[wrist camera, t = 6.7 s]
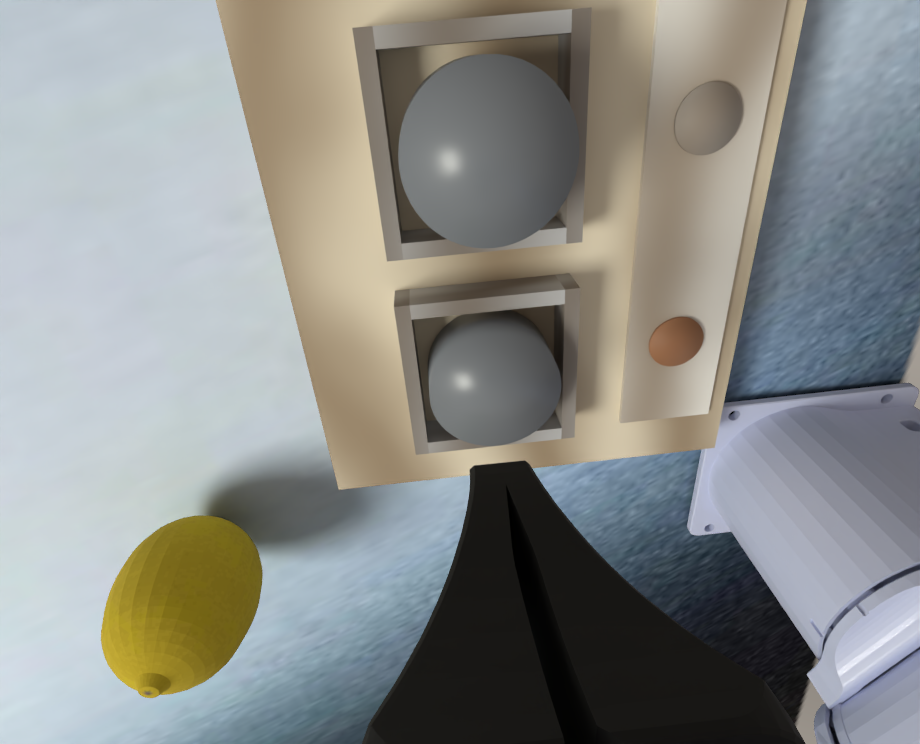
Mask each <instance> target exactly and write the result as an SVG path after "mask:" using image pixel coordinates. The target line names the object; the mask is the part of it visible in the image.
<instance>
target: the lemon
mask: <svg viewBox="0 0 920 744" xmlns="http://www.w3.org/2000/svg"><path fill="white" fill-rule="evenodd" d="M261 586H262V566H261V561H260V557H259V553H258V550H257V548H256V546H255V544H254V543H253V541H252V540H251V538H250V537H249V535H248V534H247V533H246V532H244V531H243V530H242V529H241V528H240V527H239V526H237V525H235V524H234V523H232V522H230V521H228V520H225V519H223V518H220V517H214V516H192V517H186V518H182V519H179V520H176V521H174V522H171V523H169V524H167V525H165V526H163V527H161V528H159V529H158V530H157V531H155V532H154V533H153V534H152V535H150V536H149V537H148V538H146V539H145V540H144V541H143V542H142V543H141V544H140V545H139V546H138V547H137V548H136V549H135V550H134V551H133V553H132V554H131V555H130V557H129V558H128V560H127V561H126V563H125V564H124V566H123V568H122V569H121V571H120V572H119V574H118V576H117V578H116V580H115V582H114V584H113V586H112V588H111V591H110V593H109V597H108V600H107V603H106V607H105V611H104V618H103V624H102V630H101V643H102V649H103V652H104V656H105V659H106V661H107V663H108V665H109V667H110V668H111V669H112V671H113V672H114V673H115V675H116V676H117V677H118V678H119V679H120V680H121V681H122V682H124V683H125V684H126V685H127V686H129V687H131V688H133V689H135V690H137V691H138V693H139V694H140V695H141V696H143V697H146V698H154V697H157V696H158V695H165V694H173V693H177V692H181V691H184V690H188V689H190V688H192V687H194V686H197V685H199V684H201V683H203V682H205V681H206V680H208V679H209V678H211V677H212V676H213V675H214V674H216V673H217V672H218V671H219V670H220V669H221V668H222V667H223V666H225V665H226V664H227V662H228V661H229V660H230V659H231V658H232V656H233V655H234V653H235V652H236V650H237V649H238V647H239V645H240V644H241V642H242V640H243V639H244V637H245V635H246V633H247V632H248V630H249V628H250V626H251V624H252V621H253V619H254V617H255V614H256V611H257V608H258V604H259V599H260V593H261Z"/></svg>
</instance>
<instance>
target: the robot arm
mask: <svg viewBox="0 0 920 744" xmlns="http://www.w3.org/2000/svg"><path fill="white" fill-rule="evenodd" d="M918 394H919V390H918V388H917V387H915V386H913V385H912V384H910V383H901V384H892V385H883V386H874V387H865V388H856V389H847V390H837V391H828V392H819V393H810V394H801V395H792V396H783V397H773V398H764V399H755V400H746V401H737V402H728V403H724V405H723V410H722V415H721V419H720V424H719V429H718V434H717V439H716V444H715V448H708V449H702V450H701V455H700V460H699V466H698V471H697V476H696V481H695V486H694V492H693V497H692V502H691V507H690V513H689V518H688V523H687V528H688V530H689V531H690V533H691V534H693V535H706V534H714V533H723V532H732V533H733V535H734V536H735V538H736V539H737V541H738V542H739V544H740V545H741V547H742V548H743V550H744V551H745V552H746V554H747V555H748V557H749V558H750V560H751V561H752V563H753V564H754V566H755V567H756V569H757V570H758V572H759V573H760V575H761V576H762V578H763V579H764V580H765V582H766V583H767V585H768V586H769V588H770V589H771V591H772V592H773V594H774V595H775V597H776V598H777V600H778V601H779V603H780V604H781V606H782V607H783V608H784V610H785V611H786V613H787V614H788V616H789V617H790V619H791V620H792V622H793V623H794V625H795V626H796V628H797V629H798V631H799V632H800V634H801V635H802V636H803V638H804V639H805V641H806V642H807V644H808V645H809V647H810V648H811V650H812V651H813V653H814V654H815V656H816V657H817V659H818V660H819V662H818V663H817V665H816V666H815V667H814V668H813V669H812V670H810V671H809V672H808V674H807V676H808V677H809V679H810V681H811V682H812V684H813V685H814V687H815V688H816V690H817V691H818V693H819V694H820V696H821V698H822V699H823V701H824V702H825V704H823V705H822V706H821V707H820V708H819V709H818V711H817V712H816V716H815V720H814V730H815V736H816V740H817V744H920V410H919V409H917V408H916V407H914V404H915V402H916V399H917V397H918ZM883 396H884V397H883ZM733 411H735V412H734V413H733V414H732V415H729V414H730V413H731V412H733ZM362 744H805V742H804V740H803V739H802V737H801V735H800V733H799V732H798V730H797V728H796V726H795V725H794V723H793V721H792V719H791V718H790V716H789V715H788V713H787V712H786V711H785V709H784V708H783V706H782V705H781V703H780V702H779V701H778V699H777V698H776V696H775V695H774V694H773V692H772V691H771V690H770V688H769V687H768V685H767V684H766V683H765V681H764V680H762V679H761V678H759V677H758V676H756V675H754V674H753V673H751V672H750V671H748V670H746V669H745V668H743V667H741V666H740V665H738V664H737V663H735V662H733V661H732V660H730V659H729V658H727V657H725V656H724V655H722V654H721V653H719V652H717V651H716V650H714V649H713V648H711V647H710V646H708V645H707V644H706V643H704V642H703V641H701V640H700V639H698V638H697V637H696V636H694V635H693V634H691V633H690V632H689V631H687V630H686V629H685V628H683V627H682V626H681V625H679V624H678V623H677V622H676V621H674V620H673V619H672V618H670V617H669V616H668V615H667V614H665V613H664V612H663V611H662V610H660V609H659V608H658V607H656V606H655V605H654V604H653V603H651V602H650V601H649V600H648V599H646V598H645V597H644V596H643V595H642V594H641V593H640V592H638V591H637V590H636V589H635V588H634V587H633V586H632V585H631V584H629V583H628V582H627V581H626V580H625V579H624V578H623V577H622V576H621V575H620V574H619V573H618V572H617V571H615V570H614V569H613V568H612V567H611V566H610V565H609V564H608V563H607V562H606V561H605V560H604V559H603V558H602V557H601V556H600V555H599V553H598V552H597V551H596V550H595V549H594V548H593V547H592V546H591V545H590V544H589V543H588V542H587V540H586V539H585V538H584V537H583V536H582V535H581V534H580V533H579V531H578V530H577V529H576V528H575V527H574V526H573V524H572V523H571V522H570V521H569V519H568V518H567V517H566V516H565V514H564V513H563V512H562V511H561V509H560V508H559V507H558V506H557V504H556V503H555V502H554V500H553V499H552V498H551V496H550V495H549V493H548V492H547V491H546V489H545V488H544V486H543V485H542V483H541V482H540V480H539V479H538V477H537V476H536V474H535V472H534V471H533V469H532V467H531V466H530V464H529V463H528V462H526V461H525V460H524V461H514V462H504V463H494V464H484V465H474V466H473V467H472V468H471V469H470V492H469V500H468V506H467V511H466V516H465V520H464V524H463V529H462V533H461V537H460V540H459V543H458V547H457V550H456V553H455V556H454V560H453V563H452V566H451V569H450V571H449V574H448V577H447V580H446V582H445V585H444V587H443V590H442V592H441V595H440V597H439V599H438V602H437V604H436V606H435V608H434V611H433V613H432V615H431V617H430V619H429V622H428V624H427V626H426V628H425V630H424V632H423V634H422V636H421V638H420V640H419V642H418V643H417V645H416V647H415V649H414V651H413V652H412V654H411V656H410V658H409V660H408V661H407V663H406V665H405V667H404V669H403V670H402V672H401V674H400V676H399V677H398V679H397V681H396V682H395V684H394V686H393V687H392V689H391V690H390V692H389V693H388V695H387V696H386V698H385V699H384V701H383V703H382V704H381V706H380V707H379V709H378V710H377V712H376V713H375V715H374V716H373V718H372V719H371V721H370V723H369V725H368V728H367V731H366V734H365V737H364V740H363V743H362Z"/></svg>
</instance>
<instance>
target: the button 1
mask: <svg viewBox="0 0 920 744" xmlns="http://www.w3.org/2000/svg"><path fill="white" fill-rule="evenodd" d="M428 380H429V397H430V404H431V408H432V411H433V414H434V416H435V417H436V419H437V421H438V422H439V423H440V425H441V426H442V427H443V428H444V429H445V430H446V431H447V432H449V433H450V434H451V435H453V436H454V437H456V438H458V439H460V440H462V441H465V442H467V443H471V444H475V445H481V446H499V445H505V444H509V443H513V442H516V441H518V440H521V439H523V438H525V437H527V436H529V435H531V434H532V433H534V432H535V431H537V430H538V429H539V428H540V427H541V426H543V425H544V424H545V422H546V421H547V420H548V419H549V418H550V416H551V415H552V414H553V412H554V410H555V408H556V406H557V404H558V401H559V398H560V394H561V376H560V372H559V369H558V366H557V364H556V362H555V360H554V358H553V356H552V353H551V351H550V349H549V347H548V345H547V343H546V341H545V339H544V337H543V335H542V333H541V332H540V330H539V329H538V328H537V326H536V325H535V324H534V323H533V322H531V321H530V320H529V319H528V318H526V317H525V316H523V315H521V314H519V313H517V312H514V311H511V310H502V311H492V312H482V313H473V314H463V315H460V316H458V317H457V318H455V319H453V320H452V321H451V322H449V323H448V324H447V325H446V326H445V327H444V328H443V329H442V330H441V331H440V332H439V334H438V335H437V336H436V338H435V340H434V341H433V343H432V346H431V348H430V351H429V355H428Z"/></svg>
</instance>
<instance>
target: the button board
mask: <svg viewBox="0 0 920 744" xmlns="http://www.w3.org/2000/svg"><path fill="white" fill-rule="evenodd" d="M216 3H217V7H218V11H219V15H220V19H221V23H222V27H223V31H224V35H225V39H226V43H227V47H228V51H229V55H230V59H231V63H232V67H233V71H234V75H235V79H236V83H237V87H238V91H239V95H240V99H241V103H242V107H243V111H244V115H245V119H246V123H247V127H248V131H249V135H250V139H251V143H252V147H253V151H254V155H255V159H256V162H257V166H258V170H259V174H260V178H261V182H262V186H263V190H264V194H265V198H266V202H267V206H268V210H269V214H270V218H271V222H272V226H273V230H274V234H275V238H276V242H277V246H278V250H279V254H280V258H281V262H282V266H283V270H284V274H285V278H286V282H287V286H288V290H289V294H290V298H291V302H292V306H293V310H294V314H295V318H296V322H297V325H298V329H299V333H300V337H301V341H302V345H303V349H304V353H305V357H306V361H307V365H308V369H309V373H310V377H311V381H312V385H313V389H314V393H315V397H316V401H317V405H318V409H319V413H320V417H321V421H322V425H323V429H324V433H325V437H326V441H327V445H328V449H329V453H330V457H331V461H332V465H333V469H334V473H335V477H336V481H337V485H338V489H339V490H342V489H351V488H360V487H369V486H378V485H386V484H395V483H404V482H413V481H422V480H431V479H440V478H449V477H458V476H467V475H470V469H471V468H472V467H473V466H474V465H484V464H494V463H504V462H514V461H524V460H525V461H526V462H528V463H529V464H530V466H531V467H532V468H538V467H547V466H556V465H565V464H574V463H583V462H592V461H601V460H610V459H619V458H628V457H637V456H646V455H655V454H664V453H673V452H681V451H690V450H699V449H708V448H715V444H716V439H717V434H718V429H719V424H720V419H721V415H722V410H723V405H724V400H725V395H726V390H727V386H728V381H729V376H730V371H731V366H732V361H733V356H734V352H735V347H736V342H737V337H738V332H739V327H740V323H741V318H742V313H743V308H744V303H745V298H746V294H747V289H748V284H749V279H750V274H751V269H752V265H753V260H754V255H755V250H756V245H757V240H758V235H759V231H760V226H761V221H762V216H763V211H764V206H765V202H766V197H767V192H768V187H769V182H770V177H771V173H772V168H773V163H774V158H775V153H776V148H777V143H778V139H779V134H780V129H781V124H782V119H783V114H784V110H785V105H786V100H787V95H788V90H789V85H790V81H791V76H792V71H793V66H794V61H795V56H796V51H797V47H798V42H799V37H800V32H801V27H802V22H803V18H804V13H805V8H806V3H807V0H216ZM479 54H501V55H508V56H513V57H516V58H519V59H523V60H525V61H527V62H529V63H531V64H533V65H535V66H536V67H538V68H539V69H541V70H542V71H544V72H545V73H546V74H547V75H548V76H549V77H550V78H552V79H553V80H554V81H555V83H556V84H557V85H558V86H559V88H560V89H561V90H562V91H563V93H564V95H565V96H566V98H567V100H568V101H569V103H570V106H571V108H572V110H573V113H574V116H575V119H576V123H577V127H578V134H579V150H580V151H579V162H578V167H577V172H576V176H575V179H574V182H573V185H572V188H571V190H570V192H569V194H568V196H567V198H566V200H565V201H564V203H563V205H562V206H561V208H560V209H559V210H558V212H557V213H556V214H555V215H554V217H553V218H552V219H551V220H550V221H549V222H548V223H547V224H546V225H545V226H544V227H542V228H541V229H540V230H538V231H537V232H536V233H534V234H532V235H531V236H529V237H527V238H526V239H524V240H521V241H519V242H517V243H514V244H511V245H507V246H504V247H498V248H472V247H468V246H463V245H460V244H457V243H455V242H452V241H450V240H448V239H446V238H444V237H442V236H441V235H439V234H438V233H436V232H435V231H434V230H432V229H431V228H430V227H429V226H428V225H427V224H426V223H425V222H424V221H423V220H422V219H421V218H420V216H419V215H418V214H417V213H416V211H415V210H414V208H413V207H412V205H411V203H410V201H409V199H408V197H407V195H406V193H405V190H404V187H403V184H402V181H401V176H400V171H399V160H398V150H399V138H400V131H401V125H402V120H403V117H404V114H405V111H406V108H407V106H408V104H409V102H410V100H411V98H412V96H413V95H414V93H415V92H416V90H417V88H418V87H419V86H420V85H421V84H422V82H423V81H424V80H425V79H426V78H427V77H428V76H429V75H430V74H432V73H433V72H434V71H435V70H437V69H438V68H440V67H441V66H443V65H444V64H446V63H448V62H450V61H452V60H455V59H458V58H461V57H464V56H470V55H479ZM502 310H511V311H514V312H517V313H519V314H521V315H523V316H525V317H526V318H528V319H529V320H530V321H531V322H533V323H534V324H535V325H536V326H537V328H538V329H539V330H540V332H541V333H542V335H543V337H544V339H545V341H546V343H547V345H548V347H549V349H550V351H551V353H552V356H553V358H554V360H555V362H556V364H557V366H558V369H559V372H560V376H561V394H560V398H559V401H558V404H557V406H556V408H555V410H554V412H553V414H552V415H551V416H550V418H549V419H548V420H547V421H546V422H545V424H544V425H543V426H541V427H540V428H539V429H538V430H537V431H535V432H534V433H532V434H531V435H529V436H527V437H525V438H523V439H521V440H518V441H516V442H513V443H509V444H505V445H499V446H481V445H475V444H471V443H467V442H465V441H462V440H460V439H458V438H456V437H454V436H453V435H451V434H450V433H449V432H447V431H446V430H445V429H444V428H443V427H442V426H441V425H440V423H439V422H438V421H437V419H436V417H435V416H434V414H433V411H432V408H431V404H430V397H429V380H428V355H429V351H430V348H431V346H432V343H433V341H434V340H435V338H436V336H437V335H438V334H439V332H440V331H441V330H442V329H443V328H444V327H445V326H446V325H447V324H448V323H449V322H451V321H452V320H453V319H455V318H457V317H458V316H460V315H463V314H473V313H482V312H492V311H502Z"/></svg>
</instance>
